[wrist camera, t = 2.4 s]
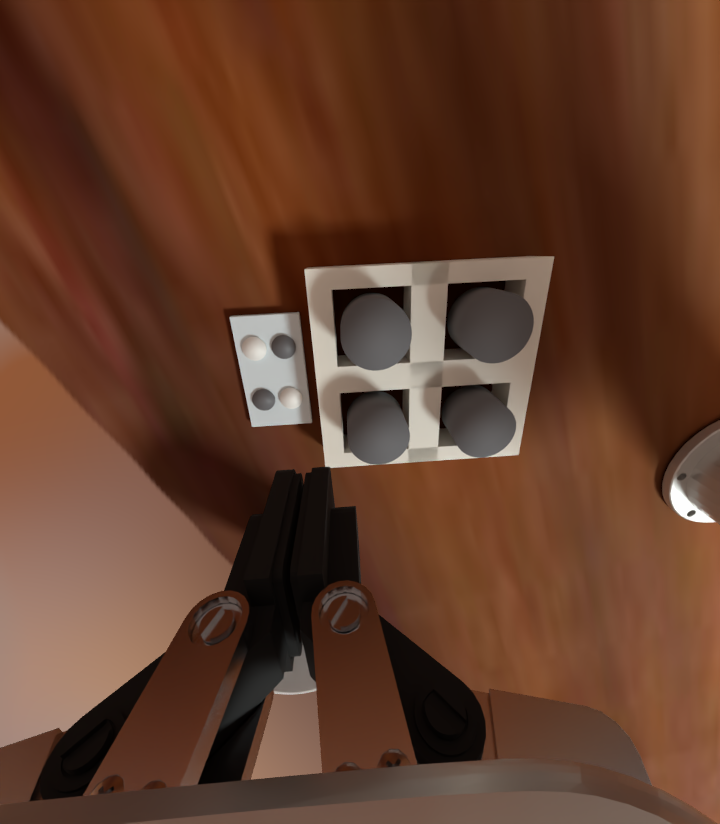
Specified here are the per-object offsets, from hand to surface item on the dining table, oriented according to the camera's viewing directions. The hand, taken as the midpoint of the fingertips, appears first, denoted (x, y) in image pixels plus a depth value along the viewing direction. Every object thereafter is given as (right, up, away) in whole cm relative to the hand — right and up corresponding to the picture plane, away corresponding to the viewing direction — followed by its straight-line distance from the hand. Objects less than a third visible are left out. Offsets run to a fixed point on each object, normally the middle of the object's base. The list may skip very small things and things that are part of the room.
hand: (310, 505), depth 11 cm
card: (-5, +6, +16) cm, 18 cm away
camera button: (+10, +10, +13) cm, 19 cm away
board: (+6, +7, +16) cm, 19 cm away
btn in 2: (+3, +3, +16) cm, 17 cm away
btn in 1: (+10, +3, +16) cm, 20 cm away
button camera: (+2, +9, +13) cm, 16 cm away
